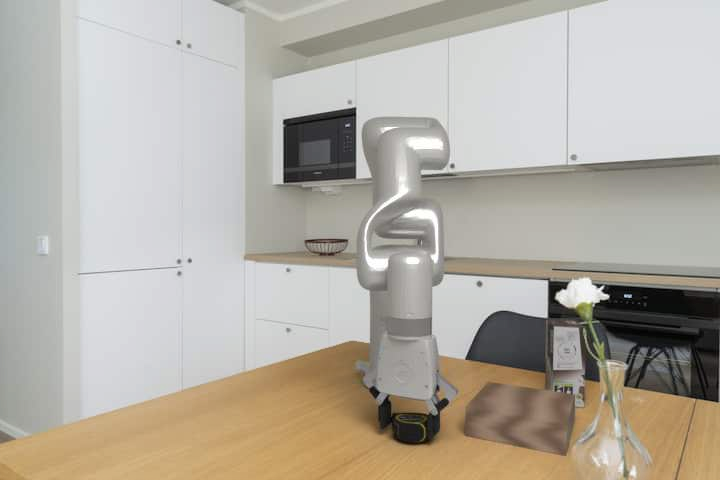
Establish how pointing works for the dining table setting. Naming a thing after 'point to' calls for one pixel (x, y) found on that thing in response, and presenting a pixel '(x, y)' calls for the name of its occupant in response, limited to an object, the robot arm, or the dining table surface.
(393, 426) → the tape measure
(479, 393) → the block
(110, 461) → the dining table surface
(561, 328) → the coffee box
